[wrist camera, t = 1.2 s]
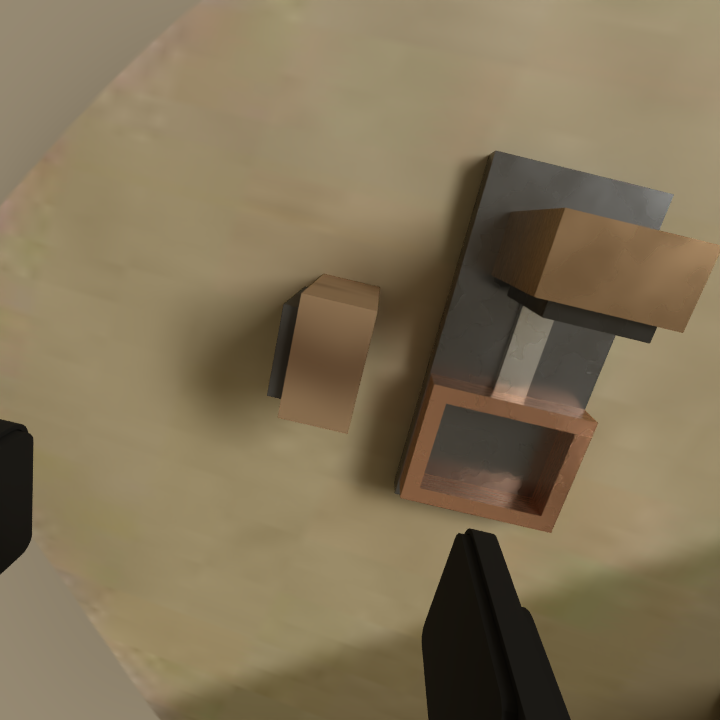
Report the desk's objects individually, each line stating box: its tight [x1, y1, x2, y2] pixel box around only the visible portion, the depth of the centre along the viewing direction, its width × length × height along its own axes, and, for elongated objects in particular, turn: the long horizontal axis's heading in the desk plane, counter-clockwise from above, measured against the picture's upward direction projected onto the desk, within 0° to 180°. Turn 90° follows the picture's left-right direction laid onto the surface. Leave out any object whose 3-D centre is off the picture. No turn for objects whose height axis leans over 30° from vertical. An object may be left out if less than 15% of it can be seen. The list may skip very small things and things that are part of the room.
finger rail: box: [394, 151, 720, 533], centre depth 25 cm, size 22×10×10 cm, turn 167°
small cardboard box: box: [267, 274, 380, 434], centre depth 26 cm, size 6×4×8 cm
